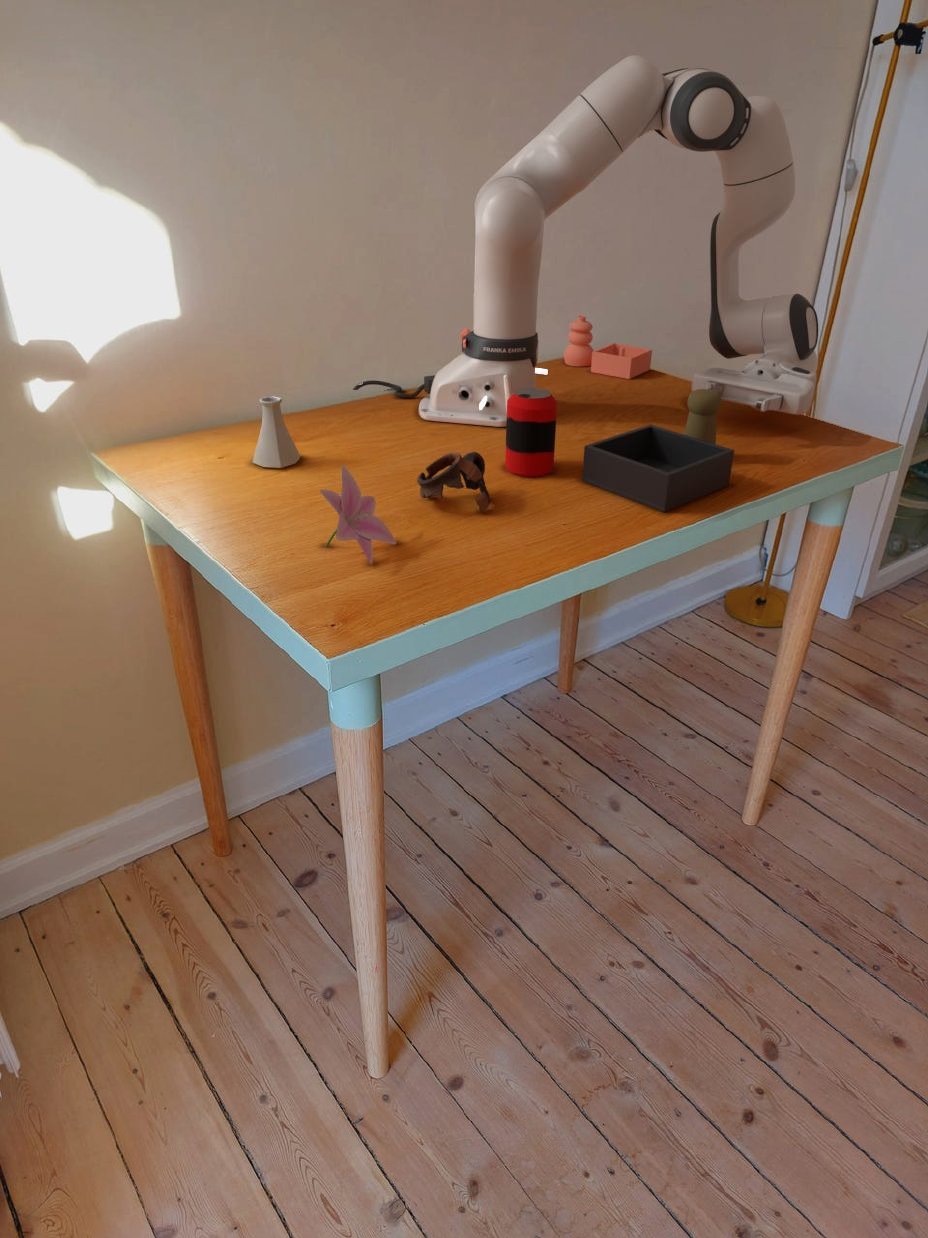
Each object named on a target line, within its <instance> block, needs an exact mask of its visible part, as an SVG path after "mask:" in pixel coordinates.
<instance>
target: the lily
mask: <svg viewBox="0 0 928 1238" xmlns="http://www.w3.org/2000/svg"><path fill="white" fill-rule="evenodd" d="M319 492H320V494H321V495H322V496H323V497H324V498H325V499H326V501H327V502H328V503H329V504H330V506H331V507H332V508H333V509H334V510H335V511H336V513H337V514H338V515H339V517H338V523H337V527H336V528H335V530H334V531H333V532H332V534H331V536H330V537H329V539H328V541H327V542H326V544H325V547H329V545H330V544H331V542H332V540H333V539H334V537H336V540H338V541H339V542H340V541H341V542H346V541H355V540H356V542H357V544H358V545H359V547H360V548H361V550H362V552H363V553H364V556H365V557H366V559H367V561H368V563H369V564H370V565H372V564H373V561H374V549H373V548H374V546H373V541H377V542H380V543H381V542H382V543H387V544H390V545H396V544H397V541H396V538H395V537H394V535H393V533H392V532H391V530H390V529H389V528H388V526H387V525H386V524H385V523H384V521H382V520H381V518H379V517H378V516H376V515H375V512H376V503H377V501H376V498H375V497H374V496H372V495H362V492H361V489H360V487H359V485H358V483H357V481H356V480H355V478H354V476H353V475H352V473H351V472H350V470H349V469H348V468H347V466H345V465H344V464H342V465H341V491H340V493H338V492H336V491H332V490H329V489H320V490H319Z"/></svg>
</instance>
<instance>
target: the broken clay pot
mask: <svg viewBox="0 0 928 1238" xmlns="http://www.w3.org/2000/svg"><path fill="white" fill-rule="evenodd" d="M446 468H447V469H446ZM425 471H426V472H427V475H426V474H425V473H424V472H423V471H422V472H421V473H419V475H418V476H417V479H416V482H417V484H418V485H419V486H420V489H419V495H420V497H421V498H422V499H426V498H427V499H431V498H433V497H435V498H437V499H440V500H443V499H444V497H443V492H444V486H446V487H447V488H450V489H452V488H453V489H457V490H460V489H461V490H462V489H463V488H466V489H467V490H468V489H469V490H473V491H478V489H479V492H480V494H479V496H478V497H477V498H476V499H475V503H476V504H477V506H478V509H479V512H480V513H481V514H482V513H484V512H485V511H487V509H488V508H489V507H490V505H491V503H492V501H491V497H490V494H489V490H488V489H487V486H486V481H485V478H484V475H485V471H486V463H485V459H484V457H483V456H482V455H481V454H480V453H479V452H477V451H471V452H467V453H466V454H465V455H463V456H462V454H461V453H460V452H449V453H446V454H444V455H442V456H441V457H438V458H437V459H436V460H434V461H432V462H431V463H429V464H428V465H427V466H426V467H425ZM441 471H442V472H441ZM439 472H441V473H439ZM438 473H439V474H438ZM462 478H463V481H464V483H463V482H462Z"/></svg>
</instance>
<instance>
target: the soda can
mask: <svg viewBox="0 0 928 1238" xmlns="http://www.w3.org/2000/svg"><path fill="white" fill-rule="evenodd" d="M557 414H558V401H557V400H556V397H554V395H553V394H552V392H551V391H550V390H548V389H545V388H540V387H537V388H521V389H517V390H515V391H514V393H513V394H512V395H511V397H510V398H509V399H508V400H507V418H506V426H505V454H504V467H505V469H506V471H507V472H509V473H510V474H512V475H515V476H518V477H524V478H536V477H537V478H538V477H543V476H546V475H549V474H550V473H551V472H552V471H553V469H554V464H555V463H554V462H555V448H556V434H557V433H556V430H557V418H558V417H557V416H558V415H557Z"/></svg>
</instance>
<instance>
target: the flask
mask: <svg viewBox="0 0 928 1238" xmlns="http://www.w3.org/2000/svg"><path fill="white" fill-rule="evenodd" d="M282 401H283V398H282V397H279V396H272V395H271V396H264V397H261V398H260V399H259V405H261V409H262V418H261V426H260V431H259V436H258V440H257V443H256V447H255V450H254V454H253V457H252V463H253V464H255V465H258V466H260V467H261V468H262V467H263V468H276V469H282V468H285V467H288V466H291V465H295V464H296V463H297V462H298V461H299V460H300V458H301V454H300V452H299V450H298V448H297V446H296V444H295V443H294V440H293V438H292V435H291V434H290V432H289V429H288V427H287V425H286V423H285V420H284V417H283V413H282V407H281V403H282Z"/></svg>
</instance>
